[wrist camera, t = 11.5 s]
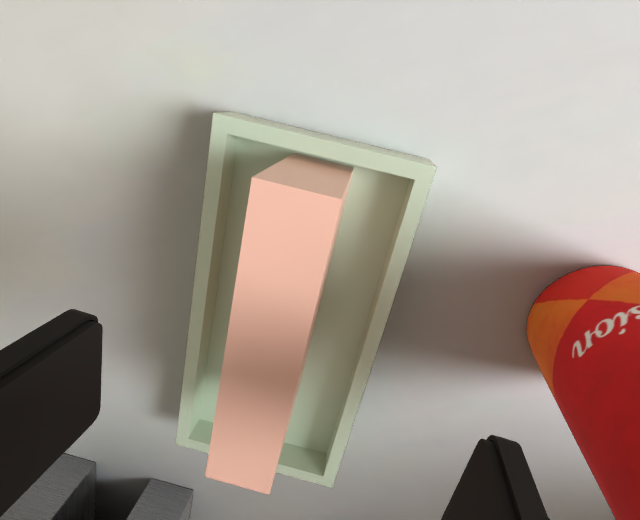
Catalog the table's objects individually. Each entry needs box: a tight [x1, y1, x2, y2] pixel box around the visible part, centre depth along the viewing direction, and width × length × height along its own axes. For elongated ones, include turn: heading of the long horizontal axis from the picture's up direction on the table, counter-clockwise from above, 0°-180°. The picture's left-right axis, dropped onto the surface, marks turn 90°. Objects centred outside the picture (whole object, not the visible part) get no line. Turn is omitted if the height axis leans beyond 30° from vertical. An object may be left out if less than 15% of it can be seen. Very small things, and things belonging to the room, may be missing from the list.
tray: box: [176, 112, 437, 488], centre depth 18 cm, size 8×16×2 cm, turn 167°
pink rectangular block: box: [205, 153, 354, 495], centre depth 15 cm, size 2×11×6 cm, turn 167°
